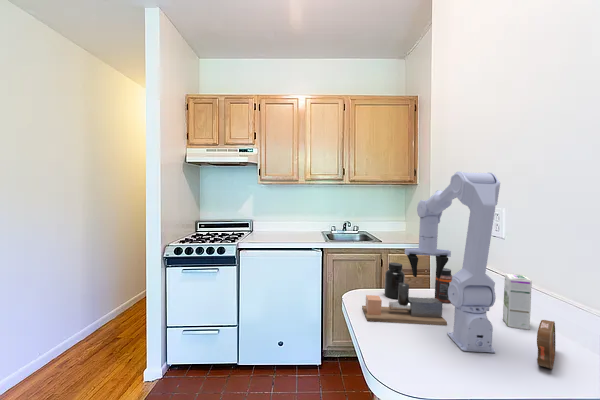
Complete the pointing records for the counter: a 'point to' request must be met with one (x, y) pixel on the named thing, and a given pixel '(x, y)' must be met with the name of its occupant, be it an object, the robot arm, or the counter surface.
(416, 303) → the sleeve
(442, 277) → the supplement bottle
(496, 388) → the counter surface
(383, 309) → the base board
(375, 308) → the socket
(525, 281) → the syrup box
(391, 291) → the supplement bottle
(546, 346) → the tin
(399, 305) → the slide bolt
